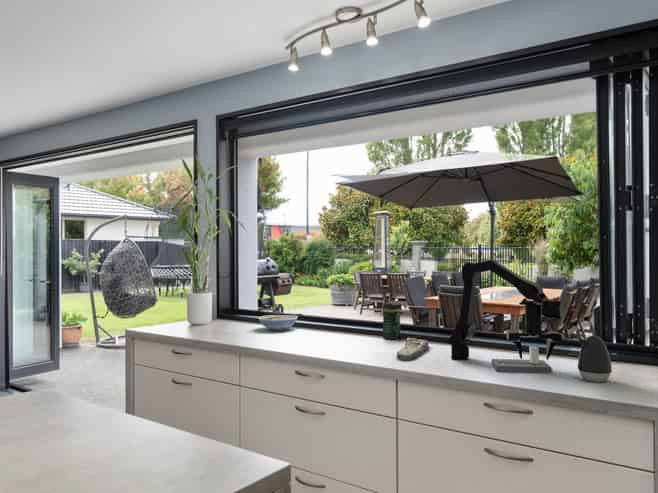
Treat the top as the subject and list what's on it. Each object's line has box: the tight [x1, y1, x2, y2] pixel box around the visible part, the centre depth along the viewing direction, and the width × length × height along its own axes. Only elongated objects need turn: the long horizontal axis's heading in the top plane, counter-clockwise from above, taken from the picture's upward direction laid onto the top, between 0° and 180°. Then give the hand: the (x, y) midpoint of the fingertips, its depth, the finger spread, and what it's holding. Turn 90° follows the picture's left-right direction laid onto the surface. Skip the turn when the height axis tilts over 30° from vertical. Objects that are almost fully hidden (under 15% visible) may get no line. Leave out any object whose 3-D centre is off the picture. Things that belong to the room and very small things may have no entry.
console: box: [491, 358, 552, 374], centre depth 188 cm, size 19×12×2 cm, turn 80°
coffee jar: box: [382, 301, 402, 340], centre depth 256 cm, size 10×8×19 cm
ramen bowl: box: [258, 313, 303, 332], centre depth 289 cm, size 25×23×8 cm
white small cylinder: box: [528, 345, 540, 364], centre depth 187 cm, size 3×4×6 cm, turn 170°
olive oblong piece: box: [396, 337, 429, 362], centre depth 220 cm, size 35×5×10 cm
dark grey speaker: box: [577, 335, 613, 383], centre depth 170 cm, size 10×10×15 cm
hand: (534, 359), depth 188 cm, fingers open, 9 cm apart
